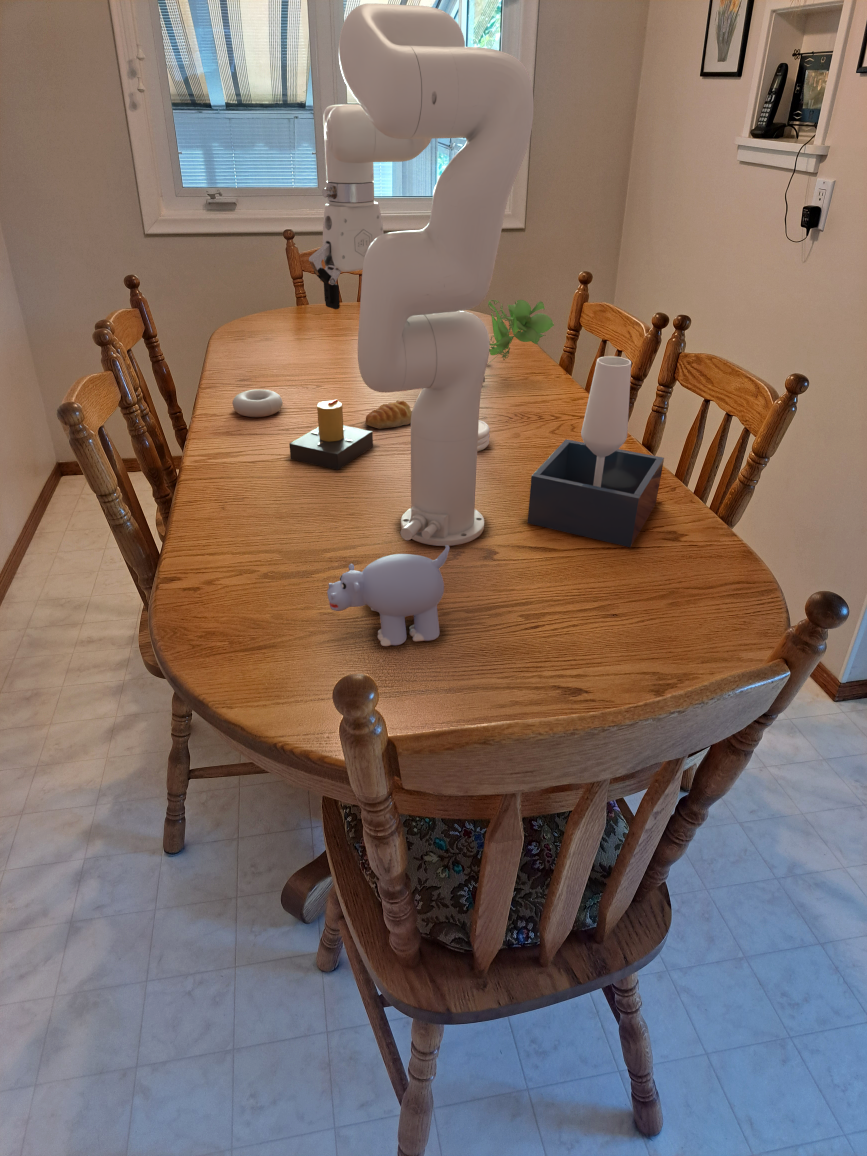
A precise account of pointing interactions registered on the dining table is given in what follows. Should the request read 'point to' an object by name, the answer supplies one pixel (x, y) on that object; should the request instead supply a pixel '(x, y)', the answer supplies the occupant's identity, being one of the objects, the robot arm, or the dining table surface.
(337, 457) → the panel
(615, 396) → the champagne flute
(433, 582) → the hippopotamus toy
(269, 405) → the donut
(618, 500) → the basin
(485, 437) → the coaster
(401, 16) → the robot arm
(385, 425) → the pastry
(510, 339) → the plant cuttings
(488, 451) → the dining table surface
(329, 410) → the tap knob
